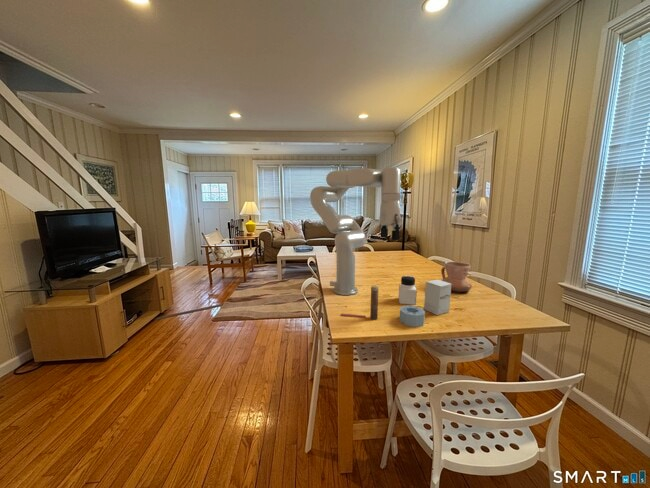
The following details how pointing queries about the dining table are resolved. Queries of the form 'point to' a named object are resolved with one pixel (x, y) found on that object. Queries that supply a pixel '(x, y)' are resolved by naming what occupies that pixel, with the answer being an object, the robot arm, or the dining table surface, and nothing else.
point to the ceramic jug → (457, 275)
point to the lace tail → (353, 315)
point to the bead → (412, 316)
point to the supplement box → (437, 297)
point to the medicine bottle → (407, 290)
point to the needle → (374, 302)
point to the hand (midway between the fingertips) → (389, 238)
